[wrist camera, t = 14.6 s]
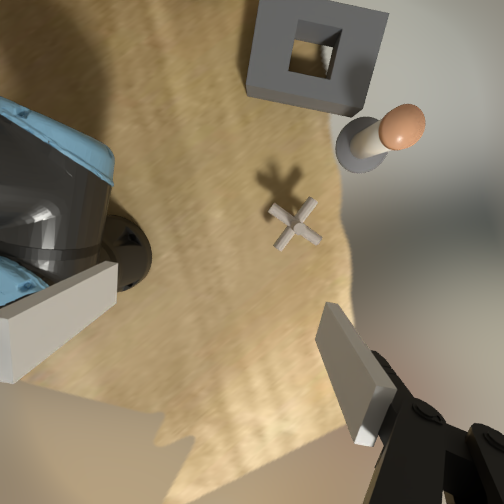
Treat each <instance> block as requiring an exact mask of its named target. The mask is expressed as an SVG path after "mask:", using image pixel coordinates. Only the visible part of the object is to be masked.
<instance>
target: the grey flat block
mask: <svg viewBox="0 0 504 504" xmlns="http://www.w3.org/2000/svg"><path fill="white" fill-rule="evenodd" d="M388 16H389V13H386V12H381V11H376V10H371V9H367V8H362V7H357V6H353V5H348V4H343V3H339V2H334V1H329V0H259V7H258V13H257V19H256V25H255V31H254V37H253V43H252V50H251V56H250V62H249V68H248V74H247V80H246V89H247V96H249V97H254V98H259V99H264V100H269V101H273V102H278V103H283V104H288V105H293V106H298V107H303V108H308V109H312V110H317V111H322V112H327V113H332V114H337V115H342V116H347V117H353V116H354V115H355V114H357V113H358V112H359V111H361V110H362V109H363V106H364V103H365V99H366V96H367V92H368V88H369V84H370V81H371V77H372V74H373V70H374V66H375V63H376V59H377V56H378V52H379V48H380V45H381V41H382V38H383V34H384V30H385V27H386V23H387V20H388ZM294 39H296V40H301V41H305V42H310V43H315V44H320V45H325V46H329V47H333V50H332V55H331V59H330V63H329V67H328V72H327V76H326V79H324V78H319V77H314V76H309V75H304V74H300V73H295V72H290V71H288V68H289V63H290V58H291V53H292V48H293V43H294Z"/></svg>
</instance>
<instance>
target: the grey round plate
mask: <svg viewBox="0 0 504 504" xmlns="http://www.w3.org/2000/svg"><path fill="white" fill-rule="evenodd" d="M377 121H379V120H377V119H375V118H372V117H360V118H357V119H354V120H353V121H351V122H349V123H348V124H347V125H346V126H345V127H344V128H343V129H342V130H341V132H340V134H339V136H338V138H337V141H336V156H337V159H338V161H339V163H340V164H341V165H342V167H344V168H345V169H346V170H348V171H350V172H353V173H366V172H369V171H371V170H373V169H375V168H376V167H378V166H379V165H380V164H381V163H382V162H383V160H384V159H385V157H386V155H387V153H388V151H387V152H384V153H381V154H378V155H375V156H371V157H368V158H365V159H357V158H355V157H354V156H353V155H352V154H351V152H350V142H351V140H352V138H353V137H354V136H355V135H356V134H357V133H359V132H361V131H362V130H364V129H366V128H367V127H369V126H371V125H372V124H374V123H376V122H377Z"/></svg>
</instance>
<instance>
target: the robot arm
mask: <svg viewBox="0 0 504 504" xmlns="http://www.w3.org/2000/svg"><path fill="white" fill-rule="evenodd" d="M114 164H115V158H114V155H113V152H112V151H111V150H110V148H109V147H108V146H106V145H105V144H104V143H102V142H100V141H98V140H96V139H94V138H92V137H90V136H88V135H86V134H84V133H82V132H80V131H77V130H75V129H73V128H71V127H69V126H67V125H65V124H62V123H60V122H58V121H56V120H53V119H51V118H49V117H47V116H45V115H42V114H40V113H38V112H35V111H32V110H30V109H28V108H26V107H24V106H21V105H19V104H17V103H15V102H13V101H11V100H8V99H6V98H4V97H1V96H0V382H6V383H11V384H14V383H15V382H17V381H18V380H19V379H21V378H22V377H23V376H24V375H26V374H27V373H28V372H29V371H31V370H32V369H33V368H35V367H36V366H37V365H38V364H40V363H41V362H42V361H43V360H45V359H46V358H47V357H49V356H50V355H51V354H52V353H54V352H55V351H56V350H57V349H59V348H60V347H61V346H63V345H64V344H65V343H66V342H68V341H69V340H70V339H71V338H73V337H74V336H75V335H77V334H78V333H79V332H80V331H82V330H83V329H84V328H85V327H87V326H88V325H89V324H91V323H92V322H93V321H94V320H96V319H97V318H98V317H99V316H101V315H102V314H103V313H105V312H106V311H107V310H108V309H110V308H111V307H112V306H113V305H115V304H116V299H117V292H122V291H126V290H128V289H130V288H132V287H134V286H135V285H137V284H138V283H139V282H141V281H142V280H143V279H144V278H145V277H146V275H147V274H148V272H149V270H150V267H151V263H152V252H151V247H150V244H149V242H148V240H147V238H146V236H145V235H144V233H143V232H142V231H141V230H140V228H139V227H137V226H136V225H135V224H134V223H132V222H131V221H129V220H127V219H125V218H123V217H119V216H115V215H107V211H108V206H109V200H110V195H111V190H112V187H113V186H114V183H113V172H114ZM315 341H316V344H317V346H318V349H319V351H320V354H321V357H322V359H323V362H324V365H325V367H326V370H327V373H328V375H329V378H330V381H331V383H332V386H333V389H334V391H335V394H336V397H337V399H338V402H339V405H340V407H341V410H342V413H343V415H344V418H345V421H346V423H347V426H348V429H349V431H350V434H351V437H352V439H353V441H354V444H360V445H366V446H372V447H373V446H374V444H375V442H376V439H377V437H378V435H379V437H380V439H381V441H382V442H383V445H384V447H383V449H382V451H381V454H380V456H379V458H378V461H377V463H376V465H375V471H374V473H373V476H372V479H371V482H370V484H369V488H368V490H367V493H366V496H365V498H364V502H363V504H442V492H443V491H444V494H445V499H446V503H447V504H504V435H502V433H500V432H499V431H497V430H494V429H492V428H490V427H489V426H486V425H483V424H479V423H474V424H473V425H471V427H470V429H469V431H468V432H466V431H464V430H461V429H459V428H456V427H454V426H451V425H449V424H447V423H446V421H445V420H444V418H443V417H442V415H441V414H440V413H439V412H438V411H437V410H436V409H435V408H433V407H432V406H430V405H429V404H427V403H426V402H424V401H422V400H420V399H417V398H414V397H413V395H412V394H411V393H410V391H409V390H408V389H407V387H406V386H405V385H404V383H403V382H402V381H401V379H400V378H399V377H398V376H397V375H396V373H395V372H394V370H393V369H391V366H390V365H389V363H388V362H387V361H386V359H385V358H383V357H382V356H381V355H380V354H379V353H377V352H376V351H372V350H370V349H369V348H368V346H367V345H366V344H365V342H364V341H363V339H362V338H361V336H360V335H359V334H358V332H357V331H356V329H355V328H354V326H353V325H352V323H351V322H350V321H349V319H348V318H347V316H346V315H345V313H344V312H343V311H342V309H341V308H340V306H339V305H338V304H336V303H330V302H326V303H325V307H324V310H323V314H322V317H321V321H320V324H319V327H318V331H317V334H316V338H315Z"/></svg>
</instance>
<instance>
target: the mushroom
mask: <svg viewBox="0 0 504 504" xmlns="http://www.w3.org/2000/svg"><path fill="white" fill-rule="evenodd" d="M424 129H425V117H424V114H423V112H422V111H421V110H420V109H419V108H418V107H417V106H415V105H412V104H403V105H400V106H398V107H396V108H394V109H393V110H391V111H390V112H388V113H387V114H386V115H385V116H384V117H383V118H382V119H381V120H379V121H377V122H376V123H374V124H372V125H371V126H369V127H367V128H366V129H364V130H362V131H361V132H359V133H357V134H356V135H355V136H354V137H353V138H352V140H351V142H350V152H351V154H352V155H353V156H354V157H355V158H357V159H365V158H368V157H371V156H375V155H378V154H381V153H384V152H387V151H391V150H401V149H405V148H408V147H410V146H412V145H414V144H415V143H416V142H417V141H418V140H419V139H420V138H421V136H422V134H423V132H424Z"/></svg>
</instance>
